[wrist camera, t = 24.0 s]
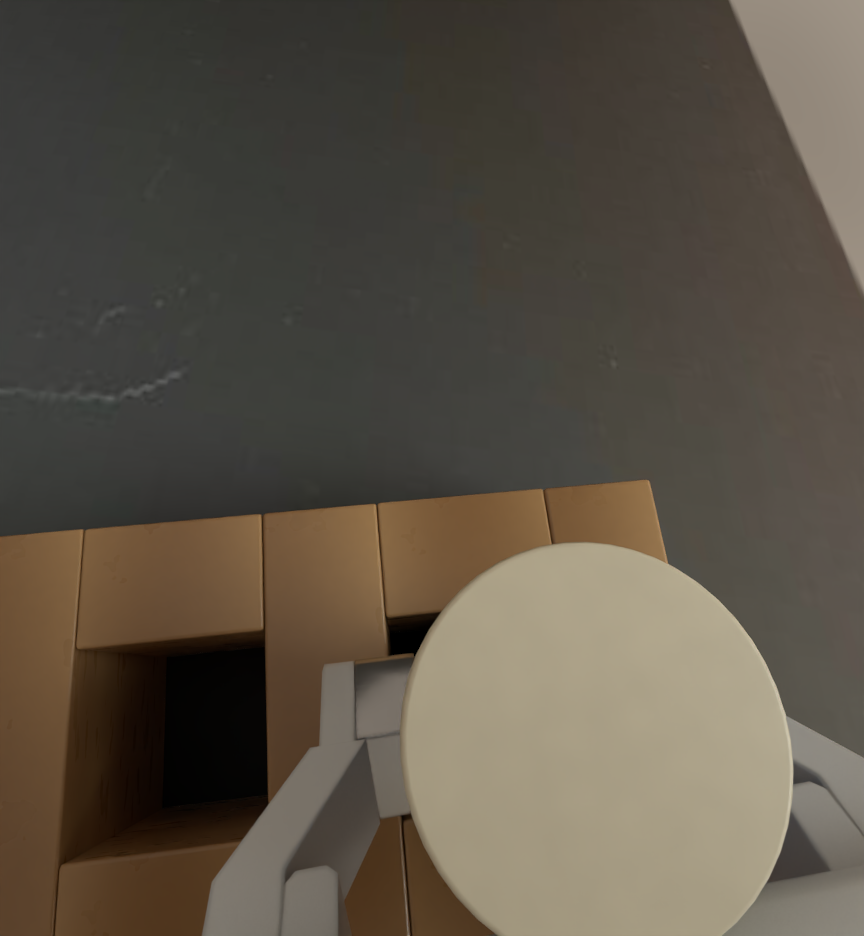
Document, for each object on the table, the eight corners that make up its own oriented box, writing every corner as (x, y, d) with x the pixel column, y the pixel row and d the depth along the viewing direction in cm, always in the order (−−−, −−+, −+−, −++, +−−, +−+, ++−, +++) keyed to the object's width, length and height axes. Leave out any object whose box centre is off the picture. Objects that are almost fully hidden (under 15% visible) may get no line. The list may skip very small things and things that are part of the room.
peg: (525, 620, 16) (737, 524, 6) (547, 761, 15) (849, 943, 5) (396, 633, 16) (384, 558, 6) (408, 779, 15) (421, 1010, 5)
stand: (586, 529, 18) (650, 478, 14) (704, 1159, 14) (862, 1413, 9) (81, 576, 17) (-41, 539, 12) (29, 1279, 13) (-194, 1640, 8)
